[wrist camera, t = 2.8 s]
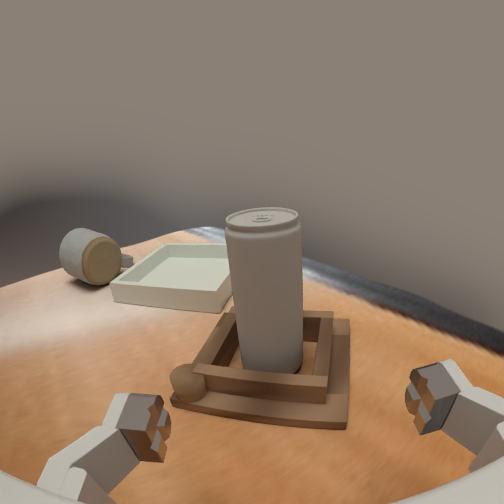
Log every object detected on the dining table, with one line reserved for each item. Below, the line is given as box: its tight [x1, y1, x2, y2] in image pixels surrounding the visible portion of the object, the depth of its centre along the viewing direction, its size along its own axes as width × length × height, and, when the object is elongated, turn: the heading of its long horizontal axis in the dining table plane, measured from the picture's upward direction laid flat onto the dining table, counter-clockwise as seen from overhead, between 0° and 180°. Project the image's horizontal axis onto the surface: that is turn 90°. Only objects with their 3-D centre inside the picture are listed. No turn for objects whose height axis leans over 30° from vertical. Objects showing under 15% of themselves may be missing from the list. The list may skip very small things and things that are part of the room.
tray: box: [110, 243, 232, 313], centre depth 40 cm, size 14×14×3 cm
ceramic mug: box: [59, 228, 133, 285], centre depth 42 cm, size 11×8×8 cm
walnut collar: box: [170, 307, 350, 430], centre depth 23 cm, size 12×12×2 cm
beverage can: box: [225, 207, 303, 374], centre depth 22 cm, size 5×5×12 cm
